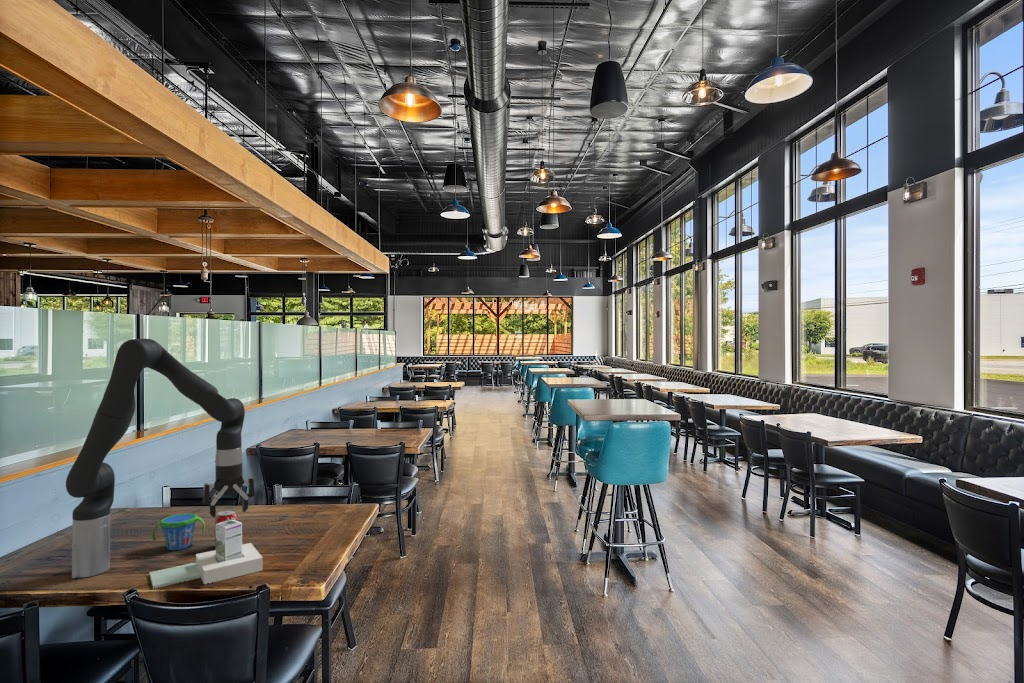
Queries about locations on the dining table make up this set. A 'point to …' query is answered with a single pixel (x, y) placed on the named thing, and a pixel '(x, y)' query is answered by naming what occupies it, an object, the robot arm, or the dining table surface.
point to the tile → (174, 575)
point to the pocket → (228, 565)
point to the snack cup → (178, 530)
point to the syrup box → (228, 540)
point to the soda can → (225, 518)
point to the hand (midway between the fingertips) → (229, 514)
